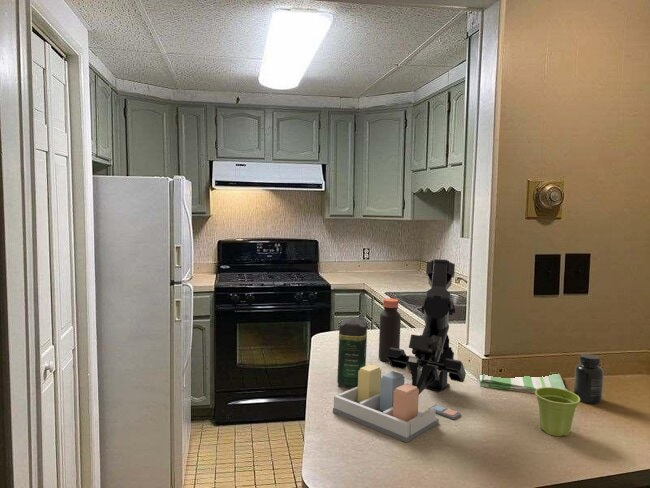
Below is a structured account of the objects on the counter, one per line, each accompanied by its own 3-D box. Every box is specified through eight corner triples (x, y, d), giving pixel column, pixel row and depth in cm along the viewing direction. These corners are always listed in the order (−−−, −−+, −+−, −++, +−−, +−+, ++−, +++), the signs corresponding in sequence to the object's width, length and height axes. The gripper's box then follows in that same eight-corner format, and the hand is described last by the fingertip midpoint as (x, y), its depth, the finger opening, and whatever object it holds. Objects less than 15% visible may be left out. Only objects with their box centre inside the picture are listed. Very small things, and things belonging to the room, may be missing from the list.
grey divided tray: (438, 422, 117) (439, 406, 117) (406, 442, 107) (407, 424, 107) (366, 396, 132) (367, 382, 131) (332, 411, 122) (333, 396, 121)
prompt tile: (460, 415, 122) (460, 412, 122) (453, 419, 119) (453, 416, 119) (435, 406, 126) (435, 403, 126) (428, 410, 124) (428, 407, 124)
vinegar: (402, 358, 164) (404, 299, 162) (393, 364, 159) (396, 302, 157) (383, 354, 168) (386, 297, 166) (374, 360, 162) (377, 300, 160)
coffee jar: (363, 390, 136) (366, 324, 134) (335, 388, 137) (337, 322, 136) (366, 378, 146) (368, 316, 144) (339, 375, 147) (341, 314, 145)
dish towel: (569, 400, 134) (570, 390, 134) (479, 388, 141) (479, 379, 140) (558, 378, 151) (559, 369, 151) (478, 368, 158) (479, 360, 157)
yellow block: (380, 399, 127) (381, 367, 126) (368, 405, 123) (369, 371, 122) (369, 395, 129) (370, 363, 128) (357, 401, 125) (358, 368, 125)
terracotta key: (417, 423, 114) (418, 386, 113) (405, 430, 110) (406, 392, 109) (404, 418, 116) (406, 382, 115) (392, 424, 113) (393, 388, 112)
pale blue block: (403, 407, 122) (404, 374, 121) (391, 414, 118) (392, 379, 118) (391, 403, 124) (392, 370, 124) (379, 409, 121) (380, 375, 120)
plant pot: (575, 444, 108) (578, 406, 107) (529, 433, 113) (531, 396, 112) (579, 428, 116) (582, 392, 115) (536, 418, 121) (538, 384, 120)
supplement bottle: (600, 397, 135) (603, 354, 134) (602, 406, 129) (606, 362, 128) (572, 392, 138) (575, 351, 137) (573, 401, 132) (576, 357, 131)
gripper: (389, 315, 123) (367, 370, 114) (464, 327, 113) (446, 388, 104) (401, 339, 130) (381, 393, 121) (472, 352, 120) (456, 412, 112)
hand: (414, 396), depth 115 cm, fingers closed
